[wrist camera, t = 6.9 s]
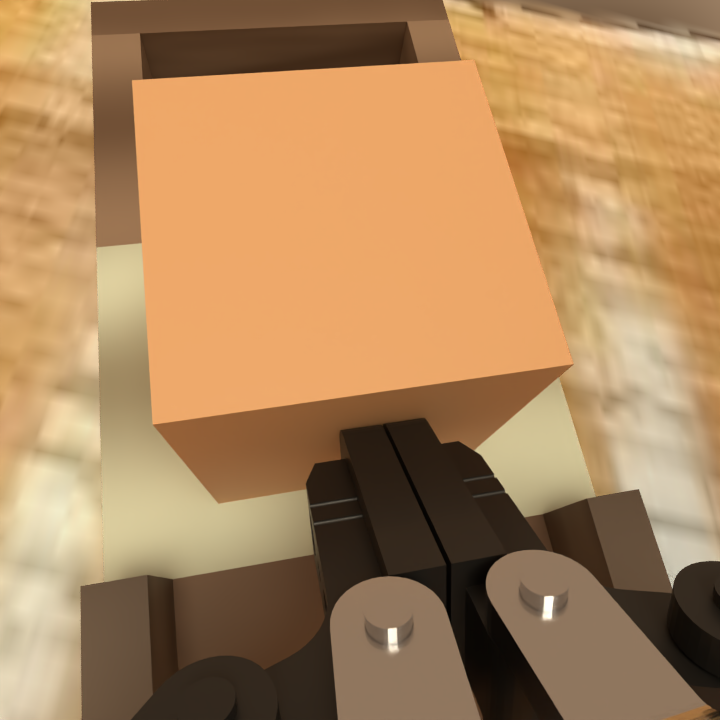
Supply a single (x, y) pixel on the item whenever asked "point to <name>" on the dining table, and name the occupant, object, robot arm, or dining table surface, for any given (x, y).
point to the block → (332, 266)
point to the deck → (162, 464)
